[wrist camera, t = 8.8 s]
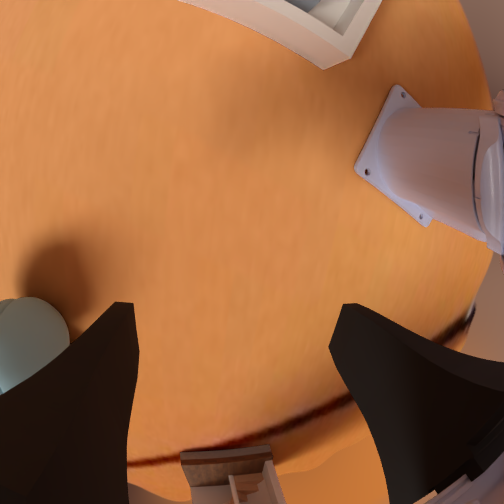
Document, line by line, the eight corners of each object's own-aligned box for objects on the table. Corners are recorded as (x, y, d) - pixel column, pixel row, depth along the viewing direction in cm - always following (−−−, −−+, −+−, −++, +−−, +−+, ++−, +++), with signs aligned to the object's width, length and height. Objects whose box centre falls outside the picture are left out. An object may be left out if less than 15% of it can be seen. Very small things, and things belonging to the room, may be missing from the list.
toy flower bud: (42, 454, 12) (-54, 356, 7) (59, 381, 20) (-3, 281, 15) (109, 464, 13) (5, 362, 8) (117, 380, 21) (59, 269, 16)
